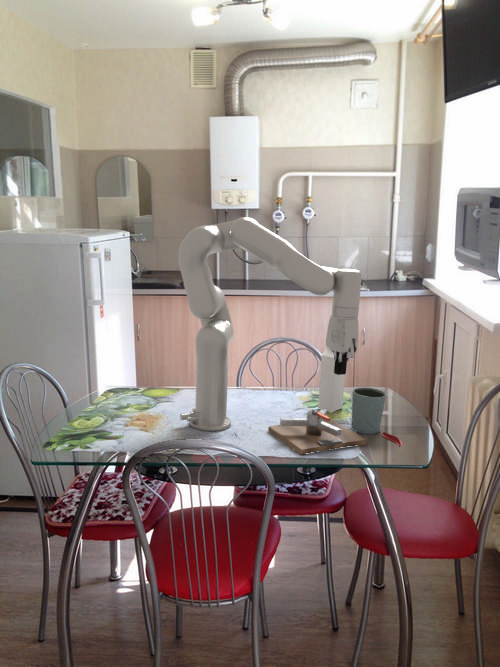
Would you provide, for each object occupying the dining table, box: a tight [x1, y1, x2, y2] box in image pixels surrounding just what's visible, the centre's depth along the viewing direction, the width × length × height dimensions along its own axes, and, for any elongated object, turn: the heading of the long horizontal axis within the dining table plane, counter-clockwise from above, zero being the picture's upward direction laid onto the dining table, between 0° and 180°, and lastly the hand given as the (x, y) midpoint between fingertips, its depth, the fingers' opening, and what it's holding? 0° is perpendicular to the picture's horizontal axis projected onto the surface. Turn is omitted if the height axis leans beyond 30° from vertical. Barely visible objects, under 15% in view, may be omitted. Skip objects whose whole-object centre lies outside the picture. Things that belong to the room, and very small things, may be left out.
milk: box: [317, 346, 346, 412], centre depth 200 cm, size 6×6×22 cm
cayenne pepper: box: [381, 431, 403, 448], centre depth 176 cm, size 12×5×2 cm, turn 3°
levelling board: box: [267, 418, 368, 456], centre depth 175 cm, size 22×19×2 cm
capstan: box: [279, 409, 341, 436], centre depth 175 cm, size 16×18×6 cm
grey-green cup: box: [351, 387, 387, 435], centre depth 183 cm, size 10×10×12 cm
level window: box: [317, 438, 342, 446], centre depth 167 cm, size 7×2×1 cm, turn 116°
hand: (339, 373), depth 174 cm, fingers closed
